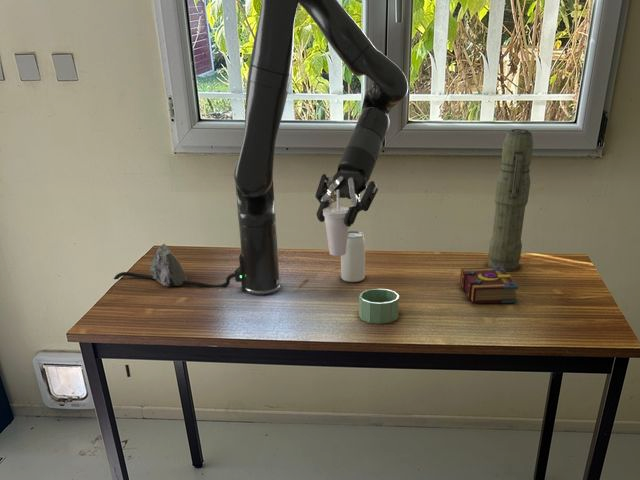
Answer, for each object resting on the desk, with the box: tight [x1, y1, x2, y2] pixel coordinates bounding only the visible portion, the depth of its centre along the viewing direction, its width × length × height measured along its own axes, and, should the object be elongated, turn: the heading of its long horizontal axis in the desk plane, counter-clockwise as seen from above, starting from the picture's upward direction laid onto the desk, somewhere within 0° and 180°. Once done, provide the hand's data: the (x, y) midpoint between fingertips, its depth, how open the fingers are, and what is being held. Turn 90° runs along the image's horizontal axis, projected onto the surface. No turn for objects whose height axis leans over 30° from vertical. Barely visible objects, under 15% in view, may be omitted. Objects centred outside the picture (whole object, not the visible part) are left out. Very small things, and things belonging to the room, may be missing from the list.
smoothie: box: [323, 189, 350, 257], centre depth 155 cm, size 6×6×14 cm
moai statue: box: [487, 128, 534, 272], centre depth 188 cm, size 9×12×35 cm
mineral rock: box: [149, 243, 188, 288], centre depth 186 cm, size 13×11×10 cm
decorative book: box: [459, 266, 519, 304], centre depth 179 cm, size 11×16×5 cm
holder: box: [358, 288, 400, 325], centre depth 167 cm, size 9×9×5 cm
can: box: [340, 230, 366, 283], centre depth 186 cm, size 6×6×12 cm
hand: (333, 222), depth 154 cm, fingers closed on smoothie, 6 cm apart
